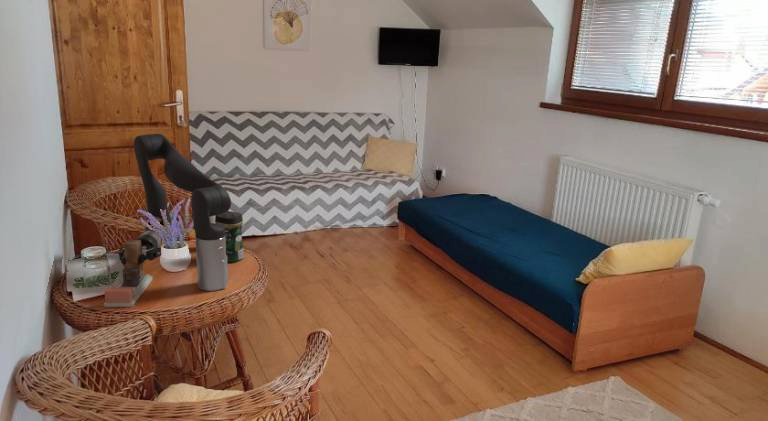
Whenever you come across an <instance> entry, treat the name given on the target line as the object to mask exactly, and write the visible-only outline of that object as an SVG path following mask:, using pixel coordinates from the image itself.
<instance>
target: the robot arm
mask: <svg viewBox="0 0 768 421" xmlns="http://www.w3.org/2000/svg"><path fill="white" fill-rule="evenodd" d="M133 139H134V140H133V151H134V155H135V159H136V164H137V167H138V170H139V174H140V178H141V181H142V185H143V188H144V194H145V201H146V211H147V213H148V212H149V213H151V214H152V215H153V216H152V217H155V218H159V219H160V220H158V221H159V222H160V224H161V225H164V224H163V220H162V216H161V212H160V209H162V210H165V209H166V216H167V220H168V222H169V223H171V219H172V216H171V215H170V211H169V209H168V208H169V207H168V200H167V194H166V190H165V188H164V186H163V185H162V184H161V182H160V181H159V180H158V179H157V178H156V176H155V175H154V173H153V171H151V168H150V164H149V161H155V160H164V164H163V173H164V175H165V177H166V178H167V179H168V180H169V182H171V184H173V185H174V186H175V187H176V188H178V189H181V190H183V191H186V192H188V193H191V198H190V202H191V203H190V204H191V212H192V223H193V228H194V233H195V235H194V236H195V255H196V274H197V276H196V277H197V281H196V282H197V288H198V289H199V290H201V291H209V292H210V291H212V292H213V291H219V290H225V289H226V288H227V286H228V283H229V271H228V270H229V269H228V268H229V267H228V264H229V262H227V255H226V241H225V228H224V227H223V226H222V225H219V224H214V223H210V218H209V217H210V216H215V215H220V214H223V213H226V212H227V211H230V209H231V207H232V206H231V205H232V199H231V197H230V194H229V193H228V191H227V190H226V189H225V187H223V186H222V185H220V184H219V183H217V182H216V181H214V180H213V179H211V178H209V177H208V176H207V175H205V174H204V172H202V171H201V170H199V169H198V168H197V167H196V166H195V165H194V164H193V163H192V162H191V161H190V160H189V159H187V157H185V156H184V155H182V154H181V153H180V152H179V150H177V148H175V146H174V145H173V144H172V143H171V142H170V140H169V139H168V138H167V136H165V135H164V134H162V133H151V134H140V135H137V136H135V137H134V138H133ZM147 223H148V224H149V225H151V224H150V221H148V222H147ZM144 226H145V227H144V231H143V233H141V234H140V235H138V237H137V238H136V239H135V240H141V247H142V255H140V256H139V257H138V259H137V262H138V265H141V263H144V262H147V260H148V261H153V260H155V259H157V258H159V257H160V256H162V248H161V247H160V246H161V244H163V242H162V239H161V237H160V236H159V234H158V233H156V232H155V231H153V230H150V229H149V228H148V227H146V225H144ZM152 228H153V227H152ZM118 254H119V255H118V256H119V261H120V263H121V264H122V265H123V266H126V263H125V252H124V247H119V248H118Z"/></svg>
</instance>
